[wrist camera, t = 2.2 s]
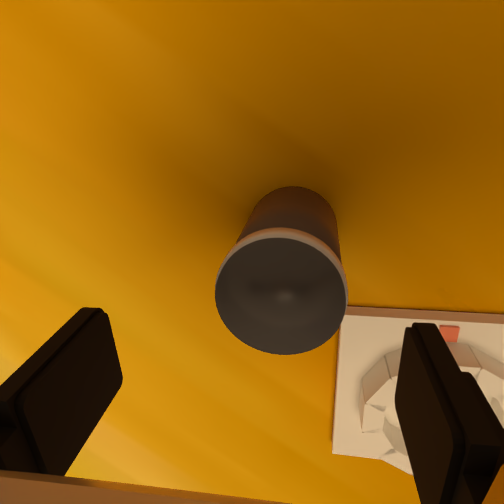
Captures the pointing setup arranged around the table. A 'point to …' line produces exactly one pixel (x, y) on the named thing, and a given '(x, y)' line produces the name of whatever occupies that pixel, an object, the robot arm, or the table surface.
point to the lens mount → (387, 366)
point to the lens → (284, 275)
